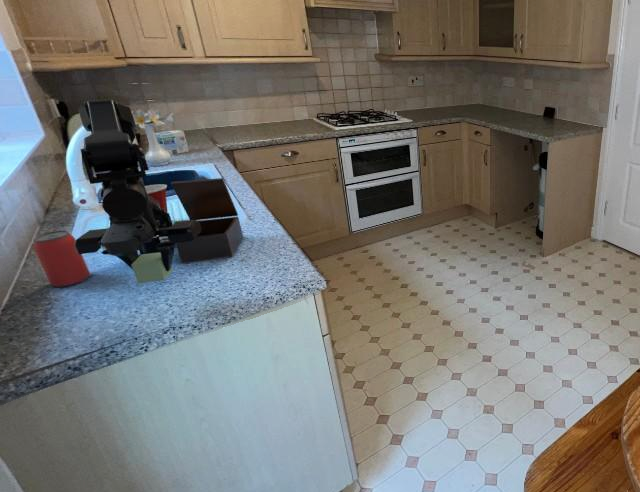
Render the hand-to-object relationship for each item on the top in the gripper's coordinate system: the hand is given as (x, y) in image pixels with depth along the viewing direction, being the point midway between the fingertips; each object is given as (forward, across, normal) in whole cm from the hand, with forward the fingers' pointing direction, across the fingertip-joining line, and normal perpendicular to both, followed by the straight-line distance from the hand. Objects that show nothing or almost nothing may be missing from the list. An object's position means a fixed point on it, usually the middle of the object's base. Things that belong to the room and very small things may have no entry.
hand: (154, 272), depth 85 cm
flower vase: (+8, -46, +133) cm, 141 cm away
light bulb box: (+8, -48, +155) cm, 163 cm away
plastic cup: (+9, -20, +52) cm, 56 cm away
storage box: (+8, +2, +27) cm, 28 cm away
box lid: (-5, +2, +31) cm, 31 cm away
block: (+1, 0, 0) cm, 1 cm away
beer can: (+9, -25, +19) cm, 33 cm away
